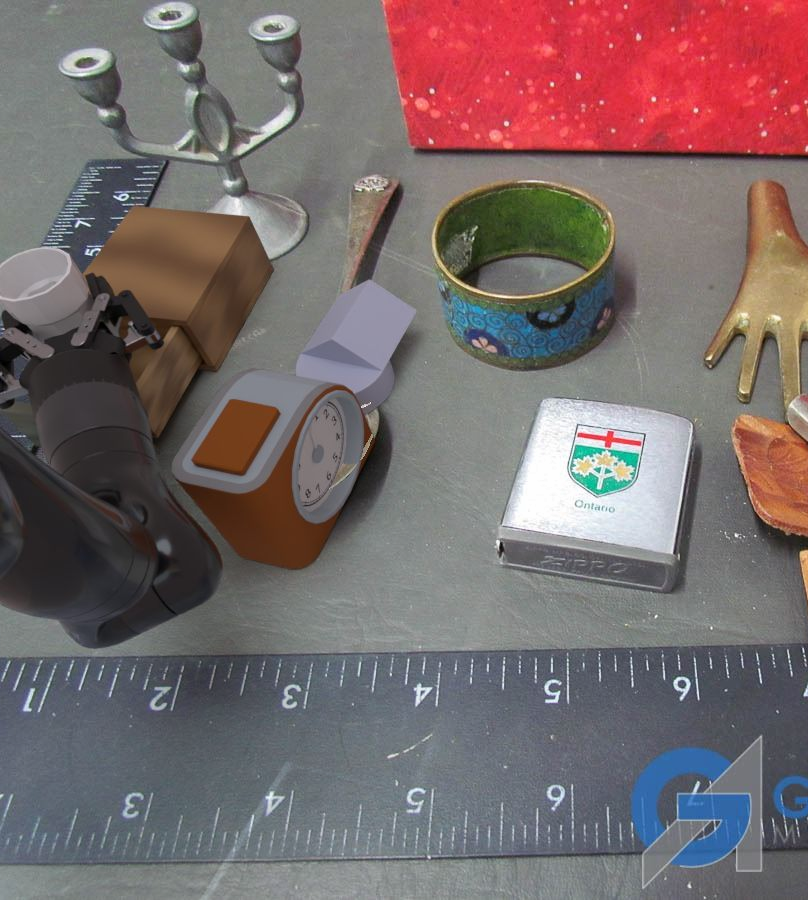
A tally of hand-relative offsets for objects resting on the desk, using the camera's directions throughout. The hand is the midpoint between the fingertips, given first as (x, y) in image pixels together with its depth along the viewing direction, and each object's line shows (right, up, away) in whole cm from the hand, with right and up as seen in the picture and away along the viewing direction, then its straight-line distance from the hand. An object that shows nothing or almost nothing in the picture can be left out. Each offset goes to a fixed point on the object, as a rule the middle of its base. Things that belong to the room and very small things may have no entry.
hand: (55, 295), depth 74 cm
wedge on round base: (+24, -6, +12) cm, 27 cm away
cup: (+1, -6, +4) cm, 7 cm away
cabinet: (+4, +1, +17) cm, 18 cm away
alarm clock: (+22, -18, +3) cm, 28 cm away
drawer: (+1, -9, +9) cm, 13 cm away
